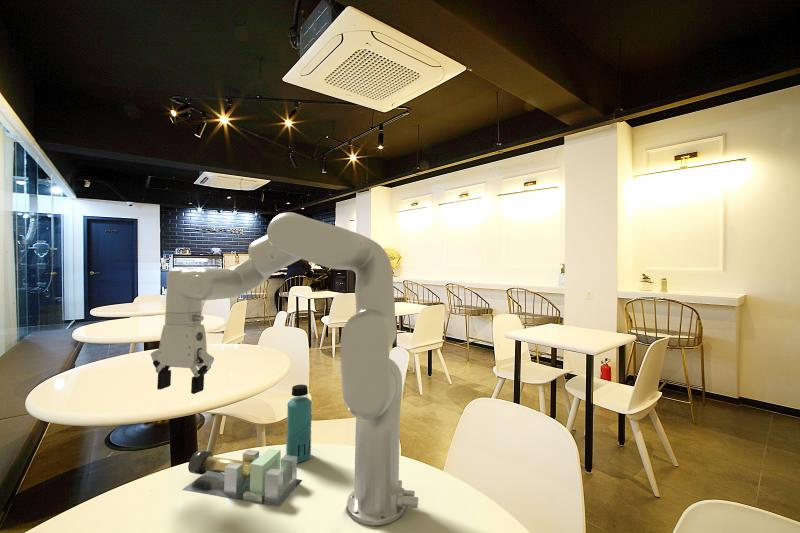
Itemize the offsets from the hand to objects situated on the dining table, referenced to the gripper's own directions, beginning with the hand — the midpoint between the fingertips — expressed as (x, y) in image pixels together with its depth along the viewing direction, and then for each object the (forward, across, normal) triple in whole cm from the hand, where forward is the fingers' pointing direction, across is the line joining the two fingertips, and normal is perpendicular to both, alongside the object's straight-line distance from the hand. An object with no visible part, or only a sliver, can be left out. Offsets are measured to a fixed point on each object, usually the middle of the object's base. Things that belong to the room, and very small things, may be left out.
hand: (180, 389), depth 86 cm
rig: (+21, -20, 0) cm, 29 cm away
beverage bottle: (+21, -24, -14) cm, 35 cm away
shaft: (+19, -13, 0) cm, 23 cm away
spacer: (+20, -24, 0) cm, 31 cm away
